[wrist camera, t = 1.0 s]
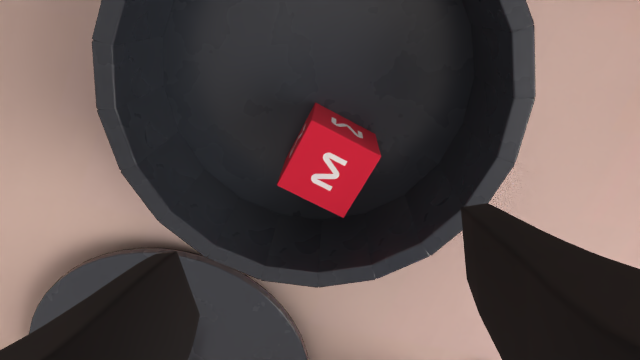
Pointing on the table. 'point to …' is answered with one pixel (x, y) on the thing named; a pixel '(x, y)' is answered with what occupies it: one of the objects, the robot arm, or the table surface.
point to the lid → (212, 302)
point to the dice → (330, 161)
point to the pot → (294, 108)
